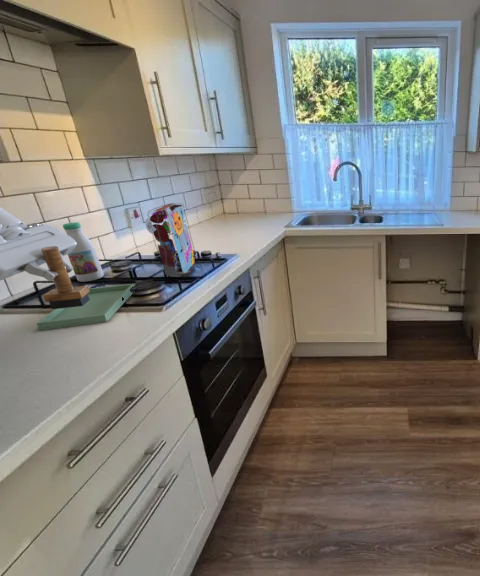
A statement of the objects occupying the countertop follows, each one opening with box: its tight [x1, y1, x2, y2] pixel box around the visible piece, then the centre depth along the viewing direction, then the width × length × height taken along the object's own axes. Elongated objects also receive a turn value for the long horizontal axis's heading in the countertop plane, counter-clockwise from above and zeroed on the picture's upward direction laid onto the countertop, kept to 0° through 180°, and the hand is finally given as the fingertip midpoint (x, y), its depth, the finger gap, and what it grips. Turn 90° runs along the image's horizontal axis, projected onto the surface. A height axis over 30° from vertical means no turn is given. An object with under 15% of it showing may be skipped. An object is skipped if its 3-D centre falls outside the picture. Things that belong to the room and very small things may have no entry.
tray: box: [36, 283, 136, 331], centre depth 107 cm, size 16×24×2 cm, turn 16°
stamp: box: [41, 246, 90, 310], centre depth 81 cm, size 7×4×14 cm, turn 105°
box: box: [145, 202, 198, 282], centre depth 124 cm, size 25×6×24 cm, turn 9°
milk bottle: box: [62, 221, 104, 283], centre depth 126 cm, size 8×8×20 cm
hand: (62, 274), depth 81 cm, fingers closed on stamp, 3 cm apart
